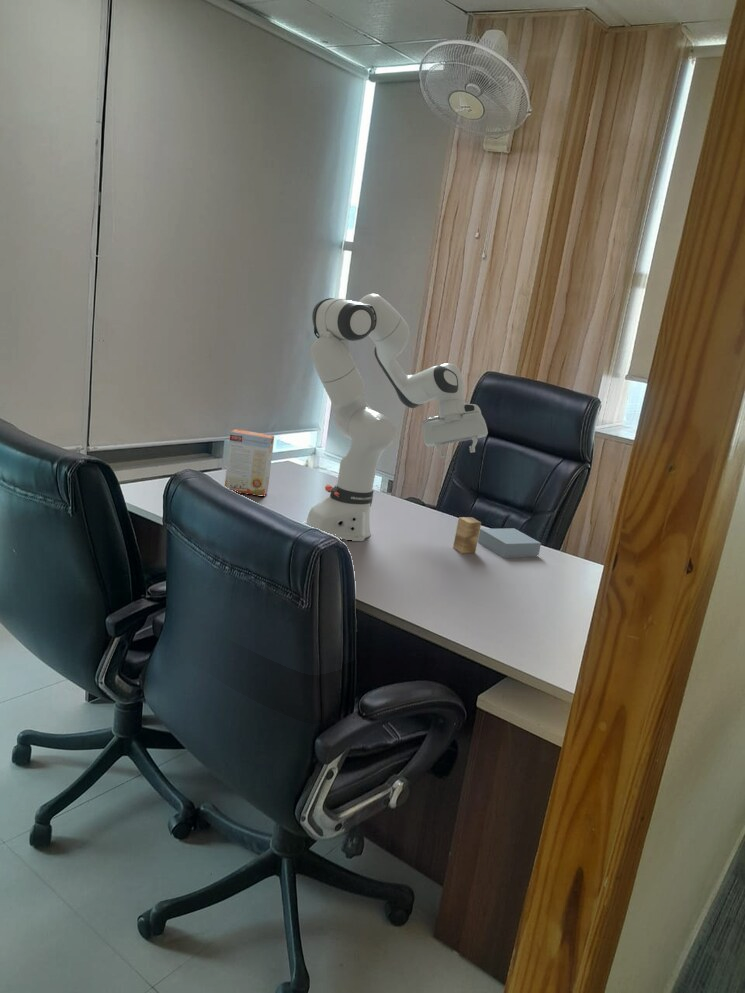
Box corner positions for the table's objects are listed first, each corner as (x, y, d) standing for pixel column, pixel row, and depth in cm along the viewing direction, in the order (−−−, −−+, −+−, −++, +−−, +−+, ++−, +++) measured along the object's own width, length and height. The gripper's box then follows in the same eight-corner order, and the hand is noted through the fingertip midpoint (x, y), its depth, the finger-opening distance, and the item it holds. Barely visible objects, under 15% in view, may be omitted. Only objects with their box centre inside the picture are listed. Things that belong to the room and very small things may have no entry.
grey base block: (502, 558, 244) (506, 543, 243) (477, 543, 256) (480, 528, 255) (537, 557, 251) (541, 543, 250) (511, 542, 263) (514, 528, 262)
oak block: (461, 553, 242) (467, 522, 240) (453, 547, 246) (459, 517, 244) (475, 552, 245) (481, 522, 242) (466, 547, 249) (472, 517, 246)
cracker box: (267, 494, 272) (275, 435, 267) (263, 498, 266) (271, 438, 261) (228, 486, 273) (235, 427, 267) (223, 491, 267) (230, 430, 262)
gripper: (418, 416, 251) (423, 457, 247) (482, 404, 245) (487, 445, 242) (423, 422, 257) (427, 462, 253) (485, 411, 251) (491, 451, 247)
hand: (457, 454), depth 247 cm, fingers open, 8 cm apart
